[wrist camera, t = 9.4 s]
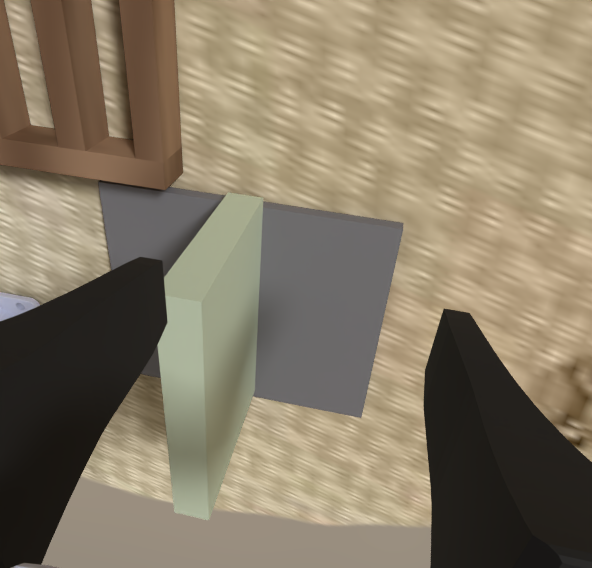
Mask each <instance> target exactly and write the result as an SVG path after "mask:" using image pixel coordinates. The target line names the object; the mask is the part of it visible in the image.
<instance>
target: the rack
mask: <svg viewBox="0 0 592 568" xmlns="http://www.w3.org/2000/svg"><path fill="white" fill-rule="evenodd" d="M31 5H32V11H33V16H34V21H35V26H36V31H37V37H38V42H39V47H40V52H41V58H42V63H43V68H44V73H45V79H46V84H47V89H48V94H49V100H50V105H51V110H52V115H53V121H54V126H55V129H53V128H46V127H39V126H32V125H31V124H30V120H29V115H28V111H27V106H26V101H25V97H24V92H23V88H22V83H21V78H20V74H19V69H18V65H17V60H16V55H15V51H14V46H13V41H12V37H11V32H10V28H9V23H8V18H7V14H6V9H5V5H4V0H0V165H6V166H13V167H19V168H26V169H32V170H39V171H45V172H52V173H58V174H65V175H71V176H77V177H84V178H90V179H97V180H103V181H110V182H116V183H123V184H129V185H136V186H142V187H148V188H155V189H161V190H166V189H167V188H168V187H169V186H170V185H171V184H172V183H173V182H174V181H175V180H176V179H177V178H178V177H179V176H180V175H181V174H182V173H183V165H182V145H181V125H180V106H179V86H178V66H177V47H176V27H175V7H174V0H119V5H120V15H121V25H122V34H123V44H124V53H125V63H126V72H127V82H128V91H129V101H130V111H131V120H132V130H133V139H134V140H129V139H122V138H115V137H109V133H108V125H107V118H106V110H105V102H104V95H103V87H102V80H101V72H100V64H99V57H98V49H97V42H96V34H95V27H94V19H93V11H92V4H91V0H31Z"/></svg>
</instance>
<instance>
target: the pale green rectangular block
mask: <svg viewBox="0 0 592 568" xmlns="http://www.w3.org/2000/svg"><path fill="white" fill-rule="evenodd" d="M262 217H263V198H261V197H255V196H248V195H242V194H235V193H229V192H228V193H227V195H226V196H225V197H224V199H223V200H222V201H221V203H220V204H219V205H218V207H217V208H216V209H215V211H214V212H213V213H212V215H211V216H210V217H209V219H208V220H207V221H206V223H205V224H204V225H203V227H202V228H201V229H200V231H199V232H198V233H197V235H196V236H195V237H194V239H193V240H192V241H191V242H190V244H189V245H188V246H187V248H186V249H185V250H184V252H183V253H182V254H181V256H180V257H179V258H178V260H177V261H176V262H175V264H174V265H173V266H172V268H171V269H170V270H169V272H168V273H167V274H166V276H165V277H164V285H165V297H166V309H167V321H168V323H167V325H166V327H165V329H164V332H163V334H162V336H161V339H160V341H159V343H158V354H159V364H160V374H161V384H162V394H163V404H164V414H165V424H166V434H167V444H168V454H169V464H170V473H171V483H172V493H173V503H174V512H175V513H179V514H184V515H188V516H192V517H197V518H201V519H205V520H209V519H210V516H211V513H212V510H213V507H214V505H215V502H216V499H217V496H218V493H219V490H220V488H221V485H222V482H223V479H224V476H225V473H226V471H227V468H228V465H229V462H230V459H231V457H232V454H233V451H234V448H235V445H236V442H237V440H238V437H239V434H240V431H241V428H242V425H243V423H244V420H245V417H246V414H247V411H248V408H249V406H250V403H251V400H252V397H253V394H254V391H255V373H256V351H257V329H258V307H259V284H260V262H261V240H262Z"/></svg>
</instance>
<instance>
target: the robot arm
mask: <svg viewBox="0 0 592 568" xmlns="http://www.w3.org/2000/svg"><path fill="white" fill-rule="evenodd" d="M22 304H23V305H22ZM167 323H168V321H167V309H166V297H165V285H164V273H163V261H162V260H157V259H151V258H145V257H138V258H136V259H134V260H132V261H129V262H127V263H125V264H123V265H121V266H119V267H117V268H116V269H114V270H112V271H110V272H108V273H106V274H104V275H102V276H100V277H98V278H96V279H94V280H92V281H90V282H89V283H87V284H85V285H83V286H81V287H79V288H77V289H75V290H73V291H71V292H68V293H66V294H64V295H62V296H60V297H58V298H56V299H53V300H51V301H49V302H47V303H45V304H43V305H40V304H39V302H38V301H37V300H35V299H33V298H30V297H24V296H19V295H14V294H8V293H3V292H0V568H57V567H53V566H48V565H41V563H42V561H43V558H44V556H45V554H46V551H47V549H48V547H49V544H50V542H51V540H52V537H53V535H54V533H55V531H56V528H57V526H58V524H59V522H60V519H61V517H62V515H63V512H64V510H65V508H66V506H67V503H68V501H69V499H70V497H71V495H72V493H73V491H74V489H75V487H76V484H77V482H78V480H79V478H80V476H81V474H82V472H83V470H84V468H85V466H86V464H87V462H88V460H89V458H90V456H91V454H92V452H93V450H94V448H95V446H96V444H97V442H98V440H99V438H100V436H101V435H102V433H103V431H104V430H105V428H106V426H107V424H108V423H109V421H110V419H111V418H112V416H113V415H114V413H115V412H116V410H117V409H118V407H119V406H120V404H121V403H122V401H123V400H124V398H125V397H126V395H127V394H128V392H129V391H130V389H131V387H132V386H133V384H134V383H135V381H136V380H137V378H138V377H139V375H140V374H141V372H142V371H143V369H144V368H145V366H146V364H147V363H148V361H149V360H150V358H151V356H152V355H153V353H154V351H155V349H156V347H157V345H158V343H159V341H160V339H161V336H162V334H163V332H164V329H165V327H166V325H167ZM424 417H425V428H426V440H427V450H428V461H429V472H430V483H431V500H432V525H431V568H592V462H591V461H590V460H589V459H587V458H586V457H585V456H584V455H583V454H582V453H581V452H580V451H579V450H578V449H576V448H575V447H574V446H573V445H572V444H571V443H570V442H569V441H568V440H567V439H566V438H565V437H564V436H563V435H562V434H561V433H560V432H559V431H558V430H557V429H556V427H555V426H554V425H553V424H552V423H551V422H550V421H549V420H548V419H547V418H546V417H545V416H544V415H543V414H542V413H541V411H540V410H539V409H538V408H537V407H536V406H535V405H534V403H533V402H532V401H531V400H530V399H529V397H528V396H527V395H526V394H525V392H524V391H523V390H522V389H521V387H520V386H519V385H518V384H517V382H516V381H515V380H514V378H513V377H512V376H511V374H510V373H509V372H508V370H507V369H506V367H505V366H504V365H503V363H502V362H501V360H500V359H499V357H498V356H497V354H496V353H495V352H494V350H493V348H492V347H491V345H490V344H489V342H488V341H487V339H486V338H485V336H484V335H483V333H482V332H481V330H480V328H479V327H478V325H477V324H476V322H475V321H474V319H473V318H472V316H471V315H470V313H466V312H460V311H455V310H449V309H444V310H443V313H442V316H441V320H440V323H439V326H438V330H437V333H436V336H435V339H434V343H433V346H432V349H431V353H430V356H429V359H428V363H427V366H426V369H425V384H424Z"/></svg>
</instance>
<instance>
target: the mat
mask: <svg viewBox="0 0 592 568" xmlns="http://www.w3.org/2000/svg"><path fill="white" fill-rule="evenodd" d="M98 185H99V191H100V198H101V204H102V211H103V217H104V224H105V231H106V237H107V244H108V250H109V257H110V264H111V270H114V269H116V268H117V267H119V266H121V265H123V264H125V263H127V262H129V261H132V260H134V259H136V258H138V257H145V258H151V259H157V260H162V261H163V273H164V277H165V276H166V274H167V273H168V272H169V270H170V269H171V268H172V266H173V265H174V264H175V262H176V261H177V260H178V258H179V257H180V256H181V254H182V253H183V252H184V250H185V249H186V248H187V246H188V245H189V244H190V242H191V241H192V240H193V239H194V237H195V236H196V235H197V233H198V232H199V231H200V229H201V228H202V227H203V225H204V224H205V223H206V221H207V220H208V219H209V217H210V216H211V215H212V213H213V212H214V211H215V209H216V208H217V207H218V205H219V204H220V203H221V201H222V200H223V199H224V197H225V196H224V195H217V194H211V193H204V192H198V191H191V190H185V189H178V188H172V187H168V188H167V189H166V190H161V189H155V188H148V187H142V186H136V185H129V184H123V183H116V182H110V181H103V180H100V181H99V182H98ZM402 232H403V223H399V222H393V221H386V220H380V219H373V218H367V217H360V216H354V215H347V214H341V213H334V212H328V211H321V210H315V209H308V208H302V207H295V206H289V205H282V204H276V203H269V202H263V217H262V240H261V262H260V284H259V307H258V329H257V351H256V373H255V391H254V394H253V396H254V397H259V398H264V399H269V400H274V401H279V402H284V403H289V404H294V405H299V406H304V407H309V408H314V409H319V410H324V411H329V412H334V413H339V414H345V415H350V416H355V417H360V418H361V416H362V412H363V407H364V403H365V398H366V394H367V389H368V385H369V380H370V376H371V371H372V367H373V362H374V358H375V353H376V349H377V344H378V340H379V335H380V331H381V326H382V322H383V317H384V313H385V308H386V304H387V299H388V295H389V290H390V286H391V281H392V277H393V272H394V268H395V263H396V259H397V254H398V250H399V245H400V241H401V236H402ZM141 374H143V375H148V376H153V377H158V378H161V374H160V364H159V354H158V345H157V347H156V349H155V351H154V353H153V355H152V356H151V358H150V360H149V361H148V363H147V364H146V366H145V368H144V369H143V371H142V372H141Z"/></svg>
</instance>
